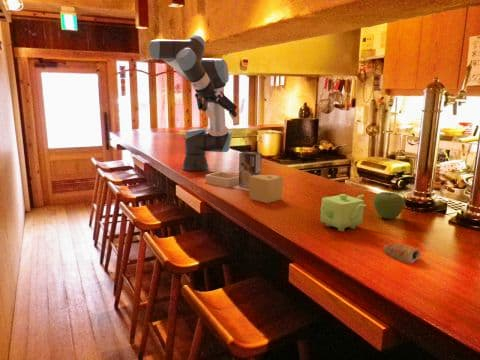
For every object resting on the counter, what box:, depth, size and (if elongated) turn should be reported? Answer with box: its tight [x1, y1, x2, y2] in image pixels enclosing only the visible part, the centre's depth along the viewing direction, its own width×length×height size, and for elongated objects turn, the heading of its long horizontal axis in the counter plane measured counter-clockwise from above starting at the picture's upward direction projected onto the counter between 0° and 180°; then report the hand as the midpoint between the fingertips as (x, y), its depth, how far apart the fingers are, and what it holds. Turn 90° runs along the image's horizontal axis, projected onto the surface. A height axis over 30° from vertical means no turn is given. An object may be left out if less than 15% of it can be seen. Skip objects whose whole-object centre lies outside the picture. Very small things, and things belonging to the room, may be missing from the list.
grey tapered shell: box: [383, 243, 421, 264], centre depth 106 cm, size 9×7×4 cm
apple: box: [372, 191, 407, 220], centre depth 139 cm, size 11×10×10 cm
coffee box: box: [238, 151, 262, 188], centre depth 179 cm, size 9×6×16 cm
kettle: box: [319, 193, 367, 232], centre depth 129 cm, size 15×14×11 cm
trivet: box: [232, 185, 249, 192], centre depth 181 cm, size 11×11×1 cm
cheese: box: [248, 174, 284, 204], centre depth 161 cm, size 10×11×10 cm
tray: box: [204, 171, 239, 188], centre depth 189 cm, size 12×15×4 cm
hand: (224, 120), depth 170 cm, fingers open, 13 cm apart
